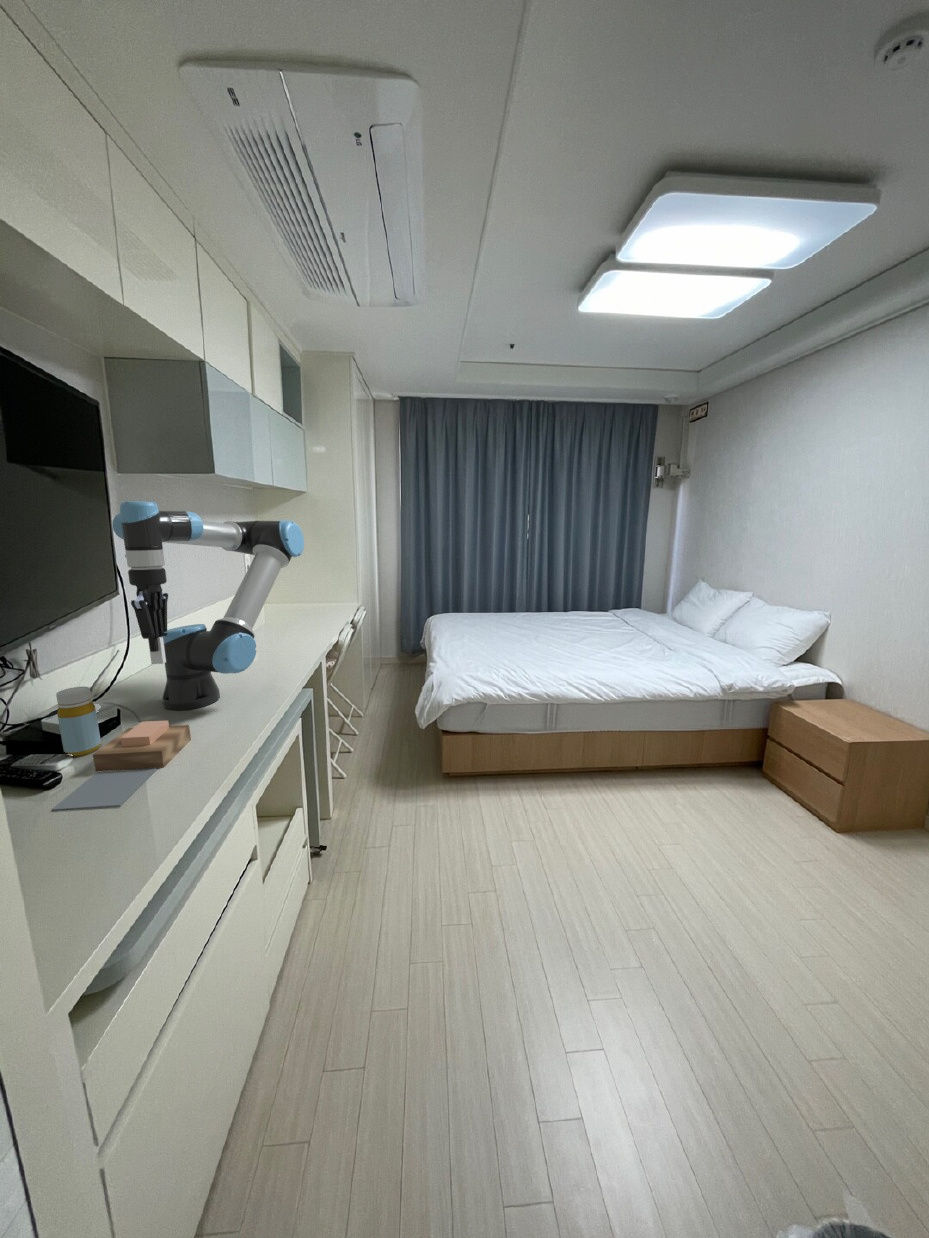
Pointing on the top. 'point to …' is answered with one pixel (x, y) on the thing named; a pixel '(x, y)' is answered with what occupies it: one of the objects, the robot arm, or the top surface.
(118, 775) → the mat
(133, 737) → the tile
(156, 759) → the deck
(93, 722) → the bottle
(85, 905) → the top surface
